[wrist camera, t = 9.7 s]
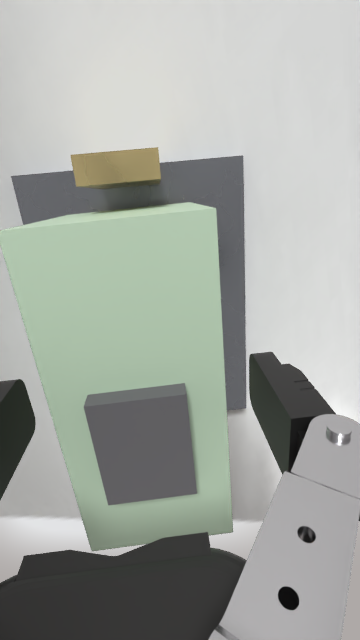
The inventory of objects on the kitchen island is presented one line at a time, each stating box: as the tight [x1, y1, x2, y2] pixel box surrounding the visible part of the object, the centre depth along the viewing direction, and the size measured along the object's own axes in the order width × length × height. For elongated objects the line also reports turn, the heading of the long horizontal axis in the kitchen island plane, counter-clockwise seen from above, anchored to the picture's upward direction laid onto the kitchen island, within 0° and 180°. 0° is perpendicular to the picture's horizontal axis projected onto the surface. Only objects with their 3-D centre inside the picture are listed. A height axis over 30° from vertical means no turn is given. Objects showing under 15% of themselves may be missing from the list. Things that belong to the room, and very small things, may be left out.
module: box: [0, 202, 233, 551], centre depth 13 cm, size 12×6×8 cm, turn 6°
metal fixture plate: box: [11, 147, 246, 410], centre depth 17 cm, size 16×12×7 cm
